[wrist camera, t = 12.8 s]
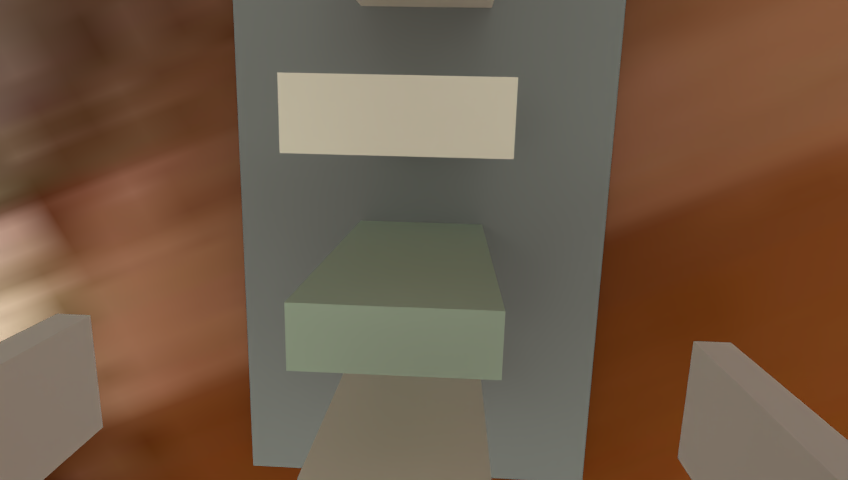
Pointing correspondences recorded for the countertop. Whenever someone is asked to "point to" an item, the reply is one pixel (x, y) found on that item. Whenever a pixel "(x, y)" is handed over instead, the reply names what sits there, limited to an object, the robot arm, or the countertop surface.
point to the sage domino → (400, 305)
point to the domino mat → (439, 201)
